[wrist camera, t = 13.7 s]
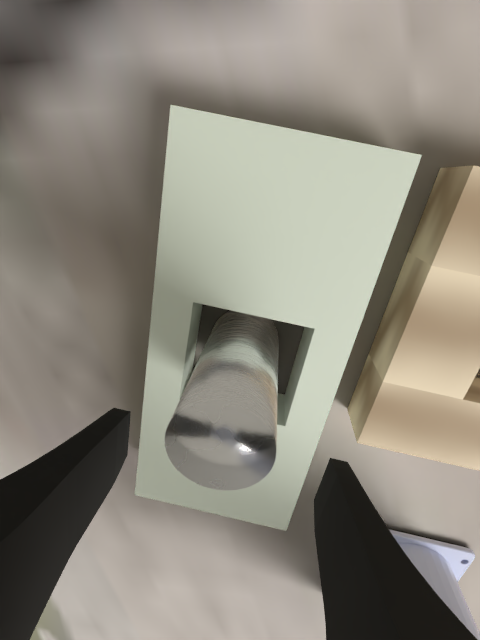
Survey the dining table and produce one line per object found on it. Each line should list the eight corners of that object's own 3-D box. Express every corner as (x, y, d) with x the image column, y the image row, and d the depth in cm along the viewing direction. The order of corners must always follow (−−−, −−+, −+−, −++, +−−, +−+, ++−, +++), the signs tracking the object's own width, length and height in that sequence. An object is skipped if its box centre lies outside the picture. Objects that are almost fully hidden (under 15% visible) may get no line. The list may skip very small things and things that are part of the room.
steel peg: (268, 375, 21) (259, 502, 13) (205, 359, 21) (157, 473, 13) (286, 318, 20) (290, 419, 11) (219, 300, 20) (174, 387, 11)
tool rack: (285, 491, 25) (286, 531, 22) (150, 460, 25) (134, 494, 22) (397, 159, 16) (422, 155, 13) (189, 117, 16) (170, 104, 13)
